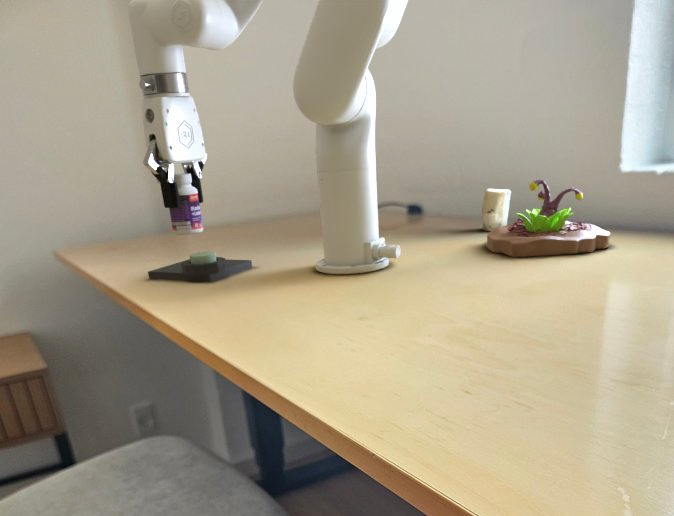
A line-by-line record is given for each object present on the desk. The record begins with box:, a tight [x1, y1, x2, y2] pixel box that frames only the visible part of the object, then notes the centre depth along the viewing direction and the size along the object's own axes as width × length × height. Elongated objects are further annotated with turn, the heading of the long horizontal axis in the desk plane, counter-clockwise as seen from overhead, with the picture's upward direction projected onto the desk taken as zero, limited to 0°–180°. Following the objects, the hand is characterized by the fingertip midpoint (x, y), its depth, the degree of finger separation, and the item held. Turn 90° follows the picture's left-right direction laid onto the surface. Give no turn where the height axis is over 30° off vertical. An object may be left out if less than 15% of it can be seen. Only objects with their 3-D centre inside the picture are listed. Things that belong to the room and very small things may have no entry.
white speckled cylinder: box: [481, 188, 512, 232], centre depth 136 cm, size 6×5×8 cm
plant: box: [486, 179, 611, 258], centre depth 115 cm, size 20×20×11 cm
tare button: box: [189, 251, 217, 264], centre depth 112 cm, size 4×4×2 cm
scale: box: [147, 256, 253, 283], centre depth 116 cm, size 15×13×3 cm
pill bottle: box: [168, 173, 204, 236], centre depth 116 cm, size 5×5×10 cm
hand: (184, 204), depth 116 cm, fingers closed on pill bottle, 5 cm apart
